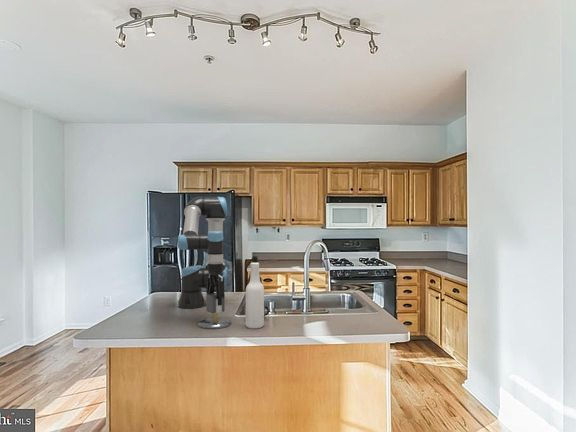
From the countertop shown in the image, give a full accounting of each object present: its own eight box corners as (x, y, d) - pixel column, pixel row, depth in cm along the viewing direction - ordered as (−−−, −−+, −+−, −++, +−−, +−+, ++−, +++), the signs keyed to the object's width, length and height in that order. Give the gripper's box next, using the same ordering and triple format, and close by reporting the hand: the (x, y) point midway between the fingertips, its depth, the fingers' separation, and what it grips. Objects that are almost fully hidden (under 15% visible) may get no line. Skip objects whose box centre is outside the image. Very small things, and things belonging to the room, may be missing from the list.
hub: (192, 323, 179) (192, 309, 179) (221, 318, 189) (221, 304, 189) (207, 331, 167) (207, 315, 167) (238, 324, 177) (238, 310, 177)
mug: (265, 323, 180) (265, 304, 181) (243, 320, 184) (243, 302, 184) (272, 318, 189) (272, 300, 189) (251, 316, 193) (251, 299, 193)
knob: (206, 311, 179) (206, 292, 179) (218, 309, 183) (218, 291, 183) (212, 313, 174) (212, 294, 174) (224, 311, 178) (224, 293, 178)
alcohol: (246, 323, 179) (247, 261, 180) (264, 323, 179) (265, 262, 180) (244, 328, 170) (244, 264, 171) (263, 329, 170) (263, 264, 171)
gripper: (199, 261, 184) (199, 308, 183) (218, 265, 169) (217, 315, 168) (212, 260, 188) (212, 306, 188) (232, 264, 173) (232, 313, 173)
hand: (215, 310), depth 178 cm, fingers closed on knob, 6 cm apart
